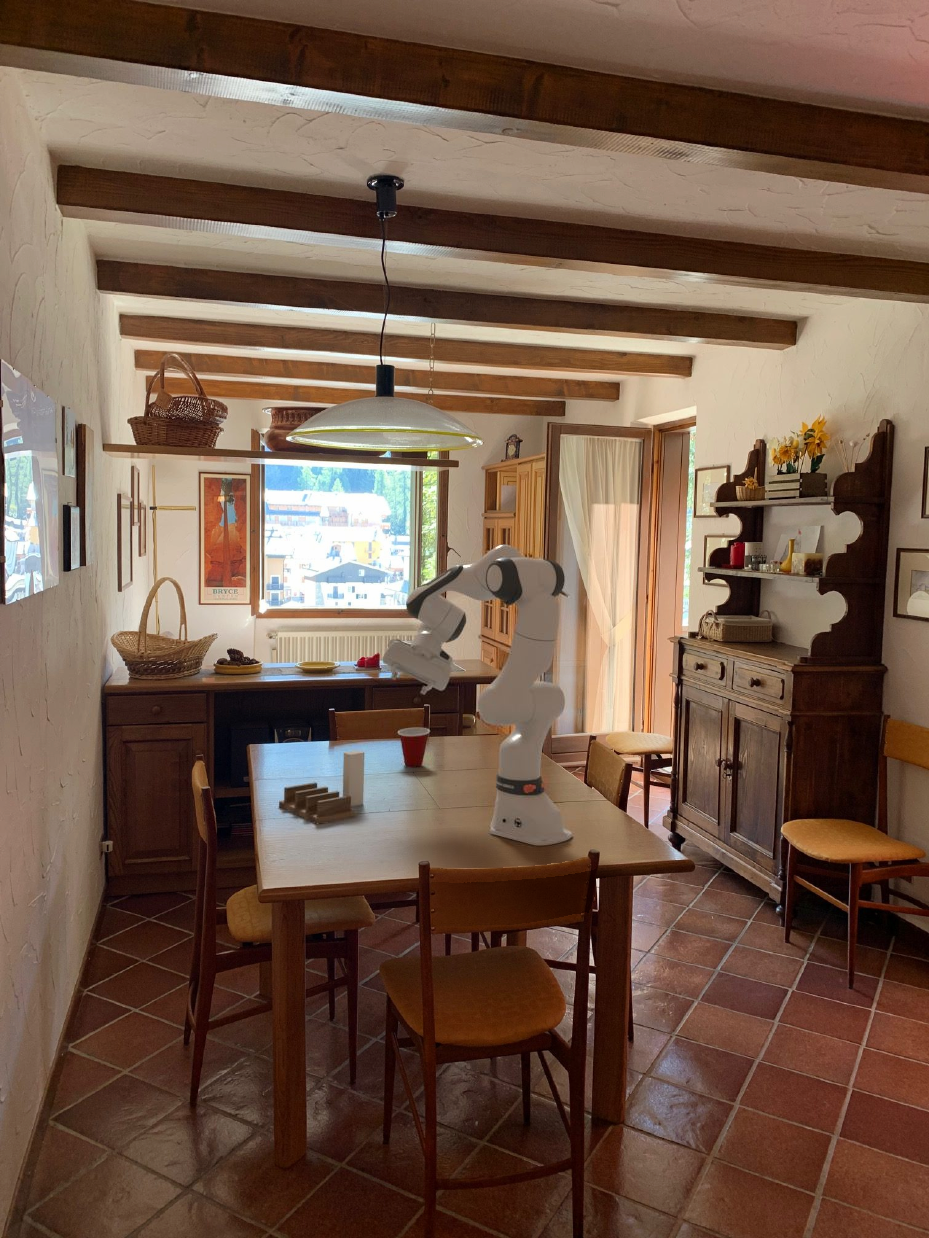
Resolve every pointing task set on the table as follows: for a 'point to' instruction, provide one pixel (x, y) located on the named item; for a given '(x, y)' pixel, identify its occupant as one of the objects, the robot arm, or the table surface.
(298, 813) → the drying rack
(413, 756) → the plastic cup
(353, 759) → the clay strip
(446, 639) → the robot arm
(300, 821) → the table surface
